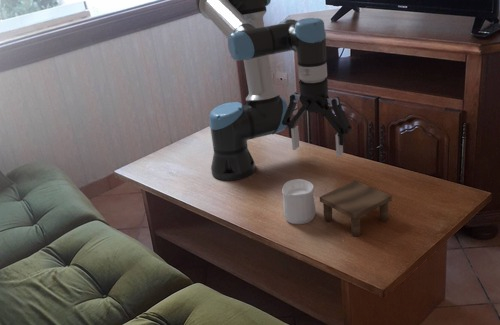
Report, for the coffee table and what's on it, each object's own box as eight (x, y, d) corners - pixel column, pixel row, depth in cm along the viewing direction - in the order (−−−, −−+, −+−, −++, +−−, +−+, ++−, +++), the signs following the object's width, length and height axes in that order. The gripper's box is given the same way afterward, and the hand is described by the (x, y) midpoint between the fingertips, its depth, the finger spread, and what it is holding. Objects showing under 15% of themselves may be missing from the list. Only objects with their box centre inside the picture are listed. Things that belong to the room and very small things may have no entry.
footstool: (320, 219, 171) (319, 196, 168) (355, 202, 178) (355, 180, 175) (356, 238, 160) (355, 214, 157) (391, 219, 167) (391, 195, 164)
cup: (292, 228, 168) (290, 198, 164) (277, 213, 177) (274, 184, 173) (322, 219, 171) (320, 189, 167) (305, 204, 180) (303, 176, 176)
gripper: (265, 79, 161) (272, 150, 170) (350, 87, 148) (353, 163, 157) (279, 71, 167) (285, 140, 176) (362, 78, 154) (364, 152, 163)
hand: (317, 151), depth 166 cm, fingers open, 13 cm apart
